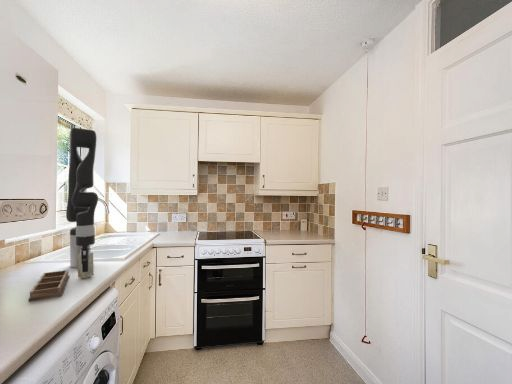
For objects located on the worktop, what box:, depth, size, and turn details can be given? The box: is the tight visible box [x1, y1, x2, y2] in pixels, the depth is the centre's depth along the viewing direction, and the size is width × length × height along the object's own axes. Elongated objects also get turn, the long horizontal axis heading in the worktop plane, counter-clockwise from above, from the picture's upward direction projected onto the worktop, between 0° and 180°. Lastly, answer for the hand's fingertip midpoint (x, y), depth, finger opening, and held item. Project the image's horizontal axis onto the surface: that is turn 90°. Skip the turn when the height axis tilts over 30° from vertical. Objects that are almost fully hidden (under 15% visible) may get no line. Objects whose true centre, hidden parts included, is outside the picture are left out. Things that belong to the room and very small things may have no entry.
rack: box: [28, 269, 70, 302], centre depth 113 cm, size 26×10×4 cm, turn 29°
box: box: [77, 251, 95, 279], centre depth 126 cm, size 5×4×11 cm
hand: (85, 269), depth 126 cm, fingers closed on box, 6 cm apart
